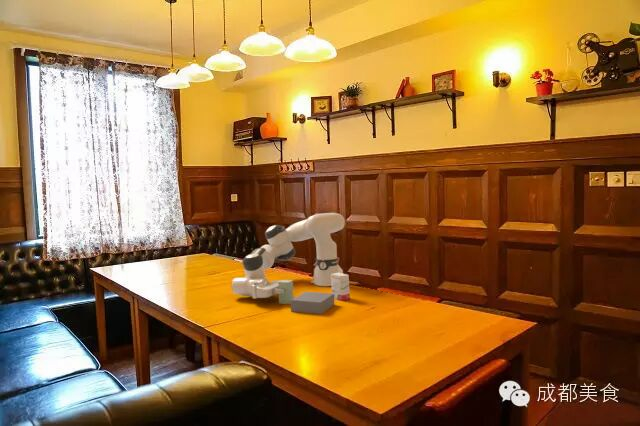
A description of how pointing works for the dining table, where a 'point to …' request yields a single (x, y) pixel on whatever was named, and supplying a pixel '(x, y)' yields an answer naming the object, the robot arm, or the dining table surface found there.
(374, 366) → the dining table surface
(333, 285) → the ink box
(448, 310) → the dining table surface
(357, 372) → the dining table surface
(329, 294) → the gray block
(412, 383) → the dining table surface
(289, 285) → the sage block
